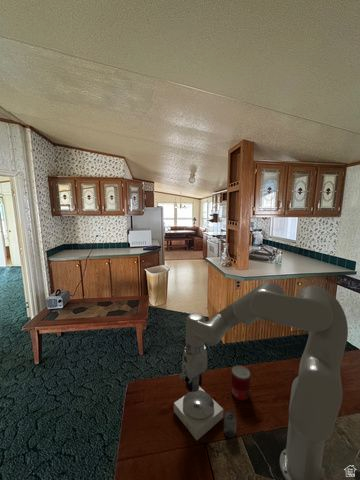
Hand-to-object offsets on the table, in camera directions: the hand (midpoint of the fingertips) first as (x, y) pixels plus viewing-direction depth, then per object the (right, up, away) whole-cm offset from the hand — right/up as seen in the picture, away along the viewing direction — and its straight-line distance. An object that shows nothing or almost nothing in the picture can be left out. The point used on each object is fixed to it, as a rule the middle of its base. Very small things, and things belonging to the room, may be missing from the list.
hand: (193, 386), depth 86 cm
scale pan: (+2, -6, -1) cm, 7 cm away
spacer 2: (+13, -12, -7) cm, 19 cm away
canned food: (+21, -10, +9) cm, 26 cm away
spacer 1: (0, -1, 0) cm, 1 cm away
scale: (+2, -11, -1) cm, 11 cm away
